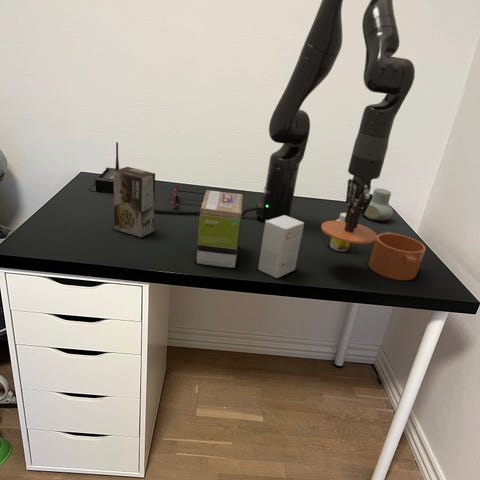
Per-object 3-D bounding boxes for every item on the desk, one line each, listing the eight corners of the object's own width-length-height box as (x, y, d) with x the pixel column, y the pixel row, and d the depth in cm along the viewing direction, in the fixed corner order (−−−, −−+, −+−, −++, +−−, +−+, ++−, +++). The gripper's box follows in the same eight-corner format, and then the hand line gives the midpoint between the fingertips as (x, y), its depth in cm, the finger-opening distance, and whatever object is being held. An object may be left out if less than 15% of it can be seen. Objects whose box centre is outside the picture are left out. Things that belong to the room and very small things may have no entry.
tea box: (201, 241, 130) (206, 188, 122) (237, 246, 130) (244, 193, 123) (195, 264, 117) (200, 206, 109) (235, 269, 118) (243, 212, 110)
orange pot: (379, 282, 122) (388, 254, 118) (360, 253, 138) (367, 227, 133) (427, 287, 123) (437, 259, 119) (402, 257, 139) (411, 232, 135)
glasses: (173, 197, 159) (174, 182, 157) (222, 202, 161) (223, 188, 159) (171, 211, 148) (171, 195, 145) (223, 216, 150) (225, 201, 147)
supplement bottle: (338, 253, 135) (347, 219, 130) (325, 245, 139) (333, 212, 134) (352, 251, 138) (361, 217, 133) (339, 243, 142) (347, 210, 137)
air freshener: (355, 214, 169) (363, 187, 164) (369, 212, 174) (376, 185, 169) (381, 225, 163) (389, 196, 157) (394, 222, 168) (402, 194, 162)
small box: (275, 261, 125) (284, 214, 118) (295, 270, 122) (305, 222, 115) (256, 269, 119) (264, 220, 112) (276, 279, 116) (286, 228, 109)
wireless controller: (102, 177, 168) (100, 126, 159) (141, 182, 169) (142, 132, 160) (86, 194, 151) (84, 138, 142) (130, 199, 152) (131, 144, 143)
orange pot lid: (326, 242, 113) (333, 216, 109) (315, 222, 125) (321, 197, 121) (382, 248, 114) (390, 222, 111) (366, 227, 126) (373, 203, 123)
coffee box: (154, 231, 132) (156, 173, 123) (141, 238, 127) (142, 178, 118) (127, 223, 134) (127, 165, 126) (113, 229, 129) (112, 169, 121)
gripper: (345, 146, 115) (329, 214, 124) (361, 159, 103) (342, 234, 112) (375, 149, 116) (357, 217, 125) (394, 163, 104) (372, 237, 113)
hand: (350, 225), depth 118 cm, fingers closed on orange pot lid, 2 cm apart
